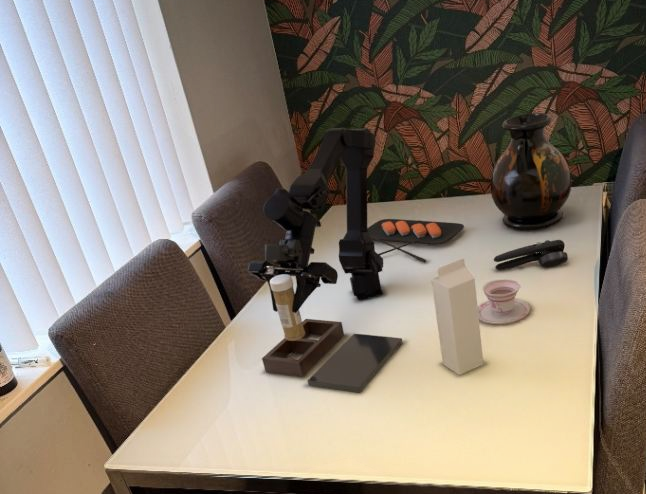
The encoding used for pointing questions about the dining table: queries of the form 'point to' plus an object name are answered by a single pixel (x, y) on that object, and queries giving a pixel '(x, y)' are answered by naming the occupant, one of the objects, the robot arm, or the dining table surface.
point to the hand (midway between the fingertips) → (284, 311)
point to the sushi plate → (413, 233)
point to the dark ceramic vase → (530, 176)
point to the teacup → (502, 303)
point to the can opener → (534, 255)
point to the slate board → (355, 362)
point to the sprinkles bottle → (287, 307)
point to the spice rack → (304, 348)
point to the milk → (457, 317)
